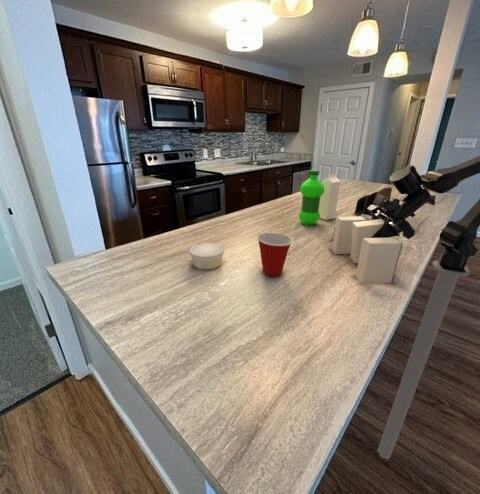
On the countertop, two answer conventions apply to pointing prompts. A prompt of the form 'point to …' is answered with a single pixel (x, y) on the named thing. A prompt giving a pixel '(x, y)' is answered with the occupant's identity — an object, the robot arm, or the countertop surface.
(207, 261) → the ramekin
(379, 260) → the white books
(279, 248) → the plastic cup
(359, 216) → the grey books
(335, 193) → the milk
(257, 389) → the countertop surface
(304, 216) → the plastic bottle
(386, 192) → the letter holder
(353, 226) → the cream rectangular block
